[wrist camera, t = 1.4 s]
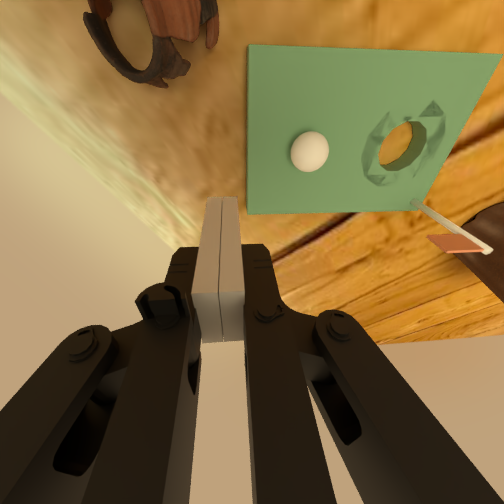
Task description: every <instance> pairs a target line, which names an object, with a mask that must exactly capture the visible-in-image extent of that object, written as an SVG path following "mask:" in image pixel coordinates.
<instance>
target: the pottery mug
mask: <svg viewBox="0 0 504 504" xmlns="http://www.w3.org/2000/svg"><path fill="white" fill-rule="evenodd" d="M141 1H142V5H143V7H144V9H145V12H146V15H147V18H148V21H149V25H150V29H151V33H152V36H153V55H152V59H151V62H150V65H149V66H148V68H147V69H146V70H143V71H141V70H137V69H135V68H134V67H133V66H132V65H131V64H130V63H129V62H128V61H127V60H126V59H125V57H124V56H123V55H122V53H121V52H120V51H119V49H118V48H117V46H116V44H115V42H114V40H113V37H112V35H111V32H110V30H109V27H108V23H107V21H106V19H107V17H109V15H110V13H111V12H112V5H111V2H110V0H88V3H89V6H90V9H91V12H92V13H88V12H84V13H83V20H84V23H85V26H86V27H87V29H88V32H89V33H90V35H91V37H92V39H93V40H94V42H95V44H96V46H97V47H98V49H99V50H100V52H101V53H102V54H103V56H104V57H105V58H106V59H107V61H108V62H109V63H110V64H111V65H112V66H113V67H115V68H116V70H117V71H118V72H120V73H121V74H122V75H123V76H124V77H126V78H128V79H129V80H131V81H133V82H137V83H147V84H150V85H153V86H156V87H160V88H168V84H167V83H165V82H164V81H163V79H162V78H166V79H174V78H176V77H177V76H184V75H186V73H187V72H188V70H189V68H190V66H191V64H190V62H189V61H188V60H185V59H182V57H181V55H180V54H179V52H178V51H177V50H176V48H175V47H174V44H173V42H172V41H171V37H173V38H176V39H182V40H186V41H189V42H194V40H196V39H197V37H198V36H199V29H200V24H204V23H205V22H206V21H207V36H206V47H207V48H208V49H211V48H213V46H214V45H215V44H216V43H217V40H218V34H219V15H218V6H217V1H216V0H141Z"/></svg>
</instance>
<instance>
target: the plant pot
mask: <svg viewBox="0 0 504 504" xmlns="http://www.w3.org/2000/svg"><path fill="white" fill-rule="evenodd" d="M461 228H462V229H463V230H465V231H466V232H468V233H469V234H471V235H472V236H474V237H476V238H477V239H479V240H480V241H482V242H483V243H485V244H486V245H488V246H489V247H491V248H493V251H492V252H491V253H490V254H487V255H485V254H483V253H482V252H463V253H454V255H455V256H457V257H458V258H459V259H460V260H461V261H462V262H463V263H464V264H465V265H466V266H467V267H468V268H469V269H470V270H471V271H472V272H473V273H474V274H475V275H476V276H477V277H478V278H479V279H480V280H481V281H482V282H483V283H484V284H485V285H486V286H487V287H488V288H489V289H490V290H491V291H492V292H493V293H494V294H495V295H496V296H497V297H498V298H499V299H500V300H501V301H502V302H503V303H504V202H503V203H500V204H497V205H494V206H492V207H489V208H487V209H485V210H483V211H482V212H480V213H478V214H477V215H476V218H475V219H474V220H473V221H471V222H469V223H466V224H464V225H463V226H462V227H461Z"/></svg>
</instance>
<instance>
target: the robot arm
mask: <svg viewBox="0 0 504 504" xmlns="http://www.w3.org/2000/svg"><path fill="white" fill-rule="evenodd" d="M135 303H136V305H137V307H138V309H139V311H140V313H141V315H142V317H143V320H141V321H140V322H137V323H135V324H133V325H130V326H127V327H124V328H121V329H118V330H115V331H112V332H110V331H109V329H108V328H107V327H104V326H102V325H91V326H87V327H84V328H81V329H79V330H77V331H75V332H74V333H72V334H70V335H69V336H68V337H67V338H66V339H65V340H63V341H62V342H61V343H60V344H59V346H57V348H56V349H55V350H54V351H53V352H52V353H51V354H50V355H49V357H48V358H47V359H46V360H45V361H44V362H43V363H42V364H41V366H40V367H39V368H38V369H37V370H36V371H35V372H34V373H33V375H32V376H31V377H30V378H29V379H28V380H27V381H26V383H25V384H24V385H23V386H22V387H21V388H20V390H18V392H17V393H16V394H15V395H14V396H13V397H12V399H10V401H9V402H8V403H7V404H6V405H5V406H4V407H3V409H2V410H1V411H0V504H189V496H190V485H191V473H192V462H193V450H194V440H195V428H196V417H197V405H198V394H199V393H198V392H199V382H200V371H201V352H200V344H201V339H202V343H212V342H223V335H224V342H226V341H240V340H244V345H245V371H246V389H247V407H248V424H249V443H250V460H251V461H250V462H251V480H252V497H253V504H337V502H336V498H335V494H334V491H333V487H332V483H331V479H330V475H329V471H328V467H327V463H326V459H325V455H324V451H323V447H322V443H321V439H320V436H319V431H318V427H317V424H316V419H315V415H314V412H313V408H312V404H311V399H310V396H309V392H308V388H309V390H310V392H311V394H312V396H313V398H314V401H315V403H316V405H317V407H318V409H319V411H320V413H321V415H322V417H323V419H324V421H325V423H326V426H327V428H328V430H329V432H330V434H331V436H332V438H333V440H334V442H335V444H336V446H337V448H338V451H339V453H340V455H341V457H342V459H343V461H344V463H345V465H346V467H347V469H348V471H349V473H350V476H351V478H352V479H353V482H354V484H355V486H356V488H357V490H358V492H359V494H360V496H361V498H362V501H363V502H364V504H504V501H503V500H502V499H501V498H500V497H499V495H498V494H497V493H496V492H495V490H494V489H493V488H492V487H491V486H490V484H489V483H488V482H487V481H486V479H485V478H484V477H483V476H482V474H481V473H480V472H479V471H478V469H477V468H476V467H475V466H474V464H473V463H472V462H471V461H470V460H469V458H468V457H467V456H466V455H465V453H464V452H463V451H462V450H461V448H460V447H459V446H458V445H457V443H456V442H455V441H454V440H453V439H452V437H451V436H450V435H449V434H448V433H447V431H446V430H445V429H444V427H443V426H442V425H441V424H440V423H439V421H438V420H437V419H436V418H435V416H434V415H433V414H432V413H431V412H430V410H429V409H428V408H427V407H426V405H425V404H424V403H423V402H422V400H421V399H420V398H419V397H418V395H417V394H416V393H415V392H414V390H413V389H412V388H411V387H410V386H409V384H408V383H407V382H406V381H405V379H404V378H403V377H402V376H401V374H400V373H399V372H398V371H397V370H396V368H395V367H394V366H393V365H392V363H391V362H390V361H389V360H388V359H387V357H386V356H385V355H384V354H383V352H382V351H381V350H380V348H379V347H378V346H377V345H376V344H375V342H374V341H373V340H372V339H371V337H370V336H369V335H368V334H367V332H366V331H365V330H364V329H363V328H362V326H361V325H360V324H359V323H358V322H357V321H356V320H355V319H354V318H353V317H352V316H351V315H349V314H347V313H345V312H343V311H339V310H326V311H324V312H322V313H320V314H319V316H318V317H315V316H311V315H307V314H302V313H299V312H296V311H294V310H292V309H290V308H289V307H288V306H287V305H285V303H284V302H283V301H282V299H281V297H280V294H279V290H278V285H277V281H276V277H275V273H274V269H273V265H272V261H271V256H270V252H269V250H268V249H267V248H266V247H265V246H264V245H263V244H241V238H240V225H239V213H238V200H237V197H223V202H222V197H207V203H206V209H205V215H204V221H203V227H202V233H201V239H200V244H199V247H180V248H179V249H178V250H177V251H176V252H175V253H174V254H173V255H172V259H171V262H170V266H169V268H168V273H167V275H166V278H165V282H163V283H158V284H155V285H153V286H150V287H148V288H146V289H145V290H144V291H143V292H141V293H140V294H139V296H138V297H137V299H136V300H135ZM307 386H308V388H307Z"/></svg>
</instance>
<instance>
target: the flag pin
mask: <svg viewBox="0 0 504 504" xmlns="http://www.w3.org/2000/svg"><path fill="white" fill-rule="evenodd" d="M410 203H411V204H412V205H414V206H415V207H417V208H418V209H420V210H421V211H422V212H424V213H425V214H427V215H428V216H430V217H431V218H433V219H434V220H435V221H437V222H438V223H440V224H441V225H443V226H444V227H446V228H447V229H449V230H450V231H451V232H453V233H454V234H442V235H427V237H426V238H428V239H429V240H430V241H431V242H433V243H434V244H435V245H436V246H438V247H439V248H440V249H441V250H443V251H444V252H445V253H463V252H482V253H483V254H485V255H487V254H490V253H491V252H492V251H493V248H491V247H489V246H488V245H486V244H485V243H483V242H482V241H480V240H479V239H477V238H476V237H474V236H472V235H471V234H469V233H468V232H466V231H465V230H463V229H462V228H460V227H459V226H457V225H455V224H454V223H452V222H451V221H449V220H448V219H446V218H445V217H443V216H441V215H440V214H438V213H437V212H435V211H434V210H432V209H431V208H429V207H428V206H426V205H424V204H423V203H421V202H420V201H418V200H417V199H412V200H411V201H410Z"/></svg>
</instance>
